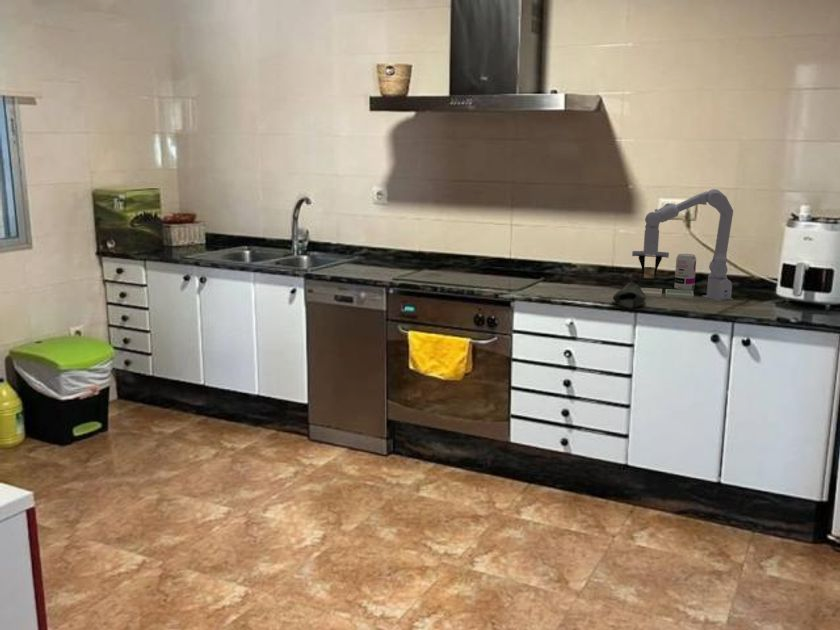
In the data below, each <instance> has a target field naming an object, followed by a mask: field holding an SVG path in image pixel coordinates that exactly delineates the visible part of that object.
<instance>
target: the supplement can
mask: <svg viewBox="0 0 840 630" xmlns="http://www.w3.org/2000/svg"><path fill="white" fill-rule="evenodd" d="M675 259H676V260H675V272H674V289H675V290H689V291H693V290H694V289H695V281H696V270H697V268H696V267H697V257H696V255H695V254H692V253H679V254H677V256H676V258H675Z"/></svg>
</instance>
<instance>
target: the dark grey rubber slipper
mask: <svg viewBox="0 0 840 630" xmlns="http://www.w3.org/2000/svg"><path fill="white" fill-rule="evenodd" d="M641 288H642V287H641V286H639V284H637V283H635V282H633V281H631V282H629V283H627V284H626V285H624V286H623V288H622V289H620V290H618V291H617V292H616V293H615V294H614V295H613V296H612V299H613V301H614V302H615V303H616V304H617V305H618V306H620V307H622V308H631V309H633V308H637V307H639V306H641V305H643V303H644V302H645V300H646V299H647V296H646V295H645V294H644V293H643V291H642V290H641Z"/></svg>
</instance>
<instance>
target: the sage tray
mask: <svg viewBox="0 0 840 630" xmlns="http://www.w3.org/2000/svg"><path fill="white" fill-rule="evenodd" d="M694 296H695V295H694V290H681V289H669V288H668V289H667V288H666V289H665V298H673V299H674V298H676V299H689V300H691V299H692V300H693V299H694Z"/></svg>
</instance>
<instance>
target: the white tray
mask: <svg viewBox="0 0 840 630" xmlns="http://www.w3.org/2000/svg"><path fill="white" fill-rule="evenodd" d="M640 288H641V290H642V291H643V293H644V294H645V295H646V297H654V298H656V297H657V298H661V297H662V295H663V293H662V292H663V288H654V287H653V288H652V287H651V288H650V287H640Z"/></svg>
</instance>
